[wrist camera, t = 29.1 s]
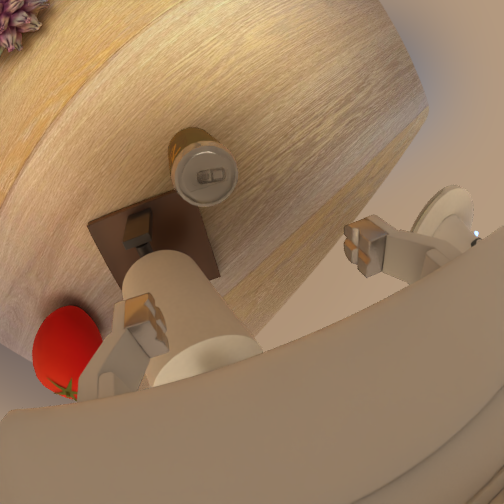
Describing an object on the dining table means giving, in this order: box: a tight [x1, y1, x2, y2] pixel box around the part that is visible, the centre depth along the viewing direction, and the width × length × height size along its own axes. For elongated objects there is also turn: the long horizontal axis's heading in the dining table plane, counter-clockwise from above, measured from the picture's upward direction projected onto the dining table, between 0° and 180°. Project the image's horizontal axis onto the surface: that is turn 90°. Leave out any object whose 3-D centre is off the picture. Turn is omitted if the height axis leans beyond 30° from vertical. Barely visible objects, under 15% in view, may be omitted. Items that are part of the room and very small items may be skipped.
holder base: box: [87, 190, 221, 290], centre depth 32 cm, size 14×14×8 cm
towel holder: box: [122, 242, 263, 388], centre depth 23 cm, size 22×9×9 cm
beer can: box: [168, 128, 238, 207], centre depth 25 cm, size 5×5×12 cm
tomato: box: [32, 305, 103, 401], centre depth 31 cm, size 13×11×14 cm
